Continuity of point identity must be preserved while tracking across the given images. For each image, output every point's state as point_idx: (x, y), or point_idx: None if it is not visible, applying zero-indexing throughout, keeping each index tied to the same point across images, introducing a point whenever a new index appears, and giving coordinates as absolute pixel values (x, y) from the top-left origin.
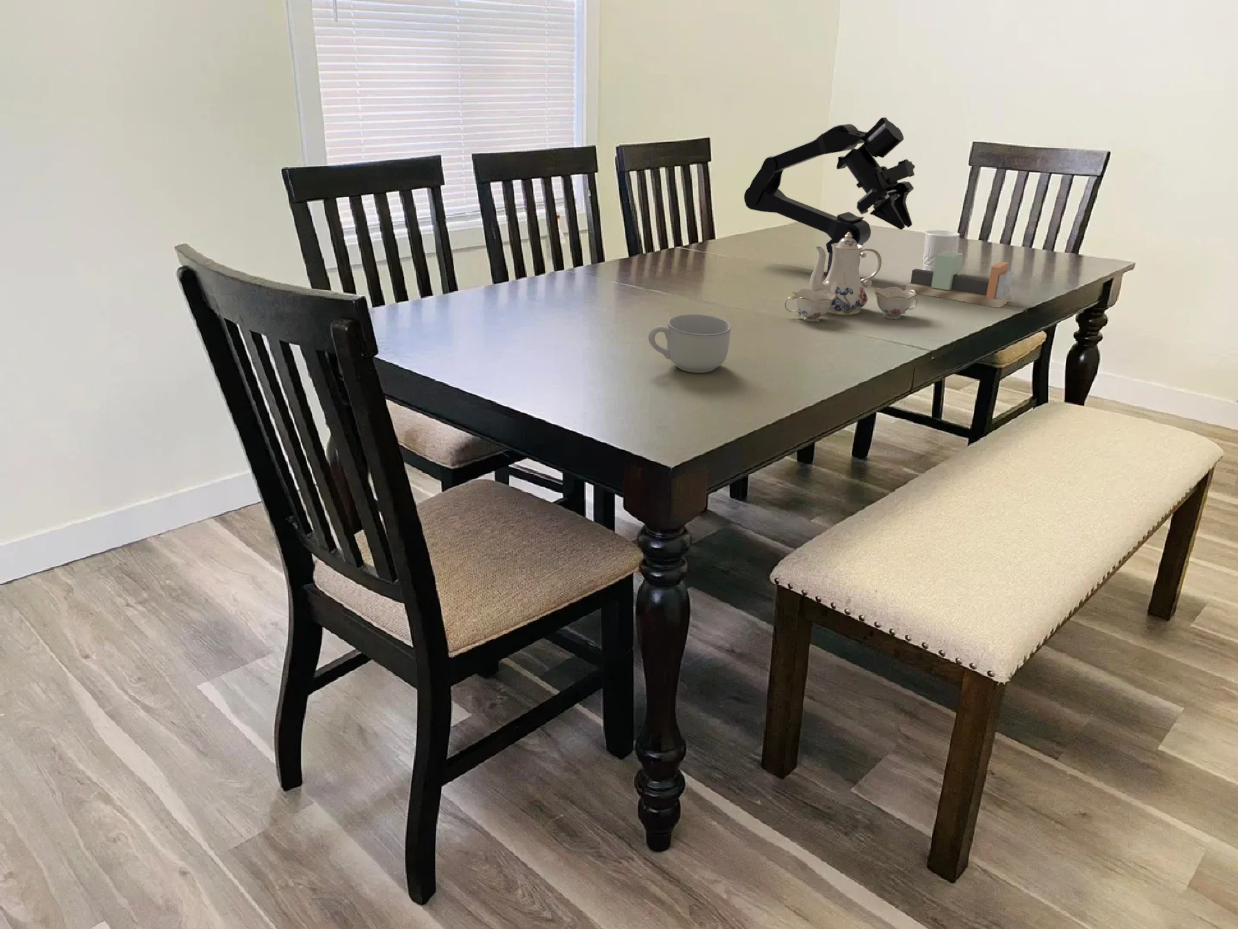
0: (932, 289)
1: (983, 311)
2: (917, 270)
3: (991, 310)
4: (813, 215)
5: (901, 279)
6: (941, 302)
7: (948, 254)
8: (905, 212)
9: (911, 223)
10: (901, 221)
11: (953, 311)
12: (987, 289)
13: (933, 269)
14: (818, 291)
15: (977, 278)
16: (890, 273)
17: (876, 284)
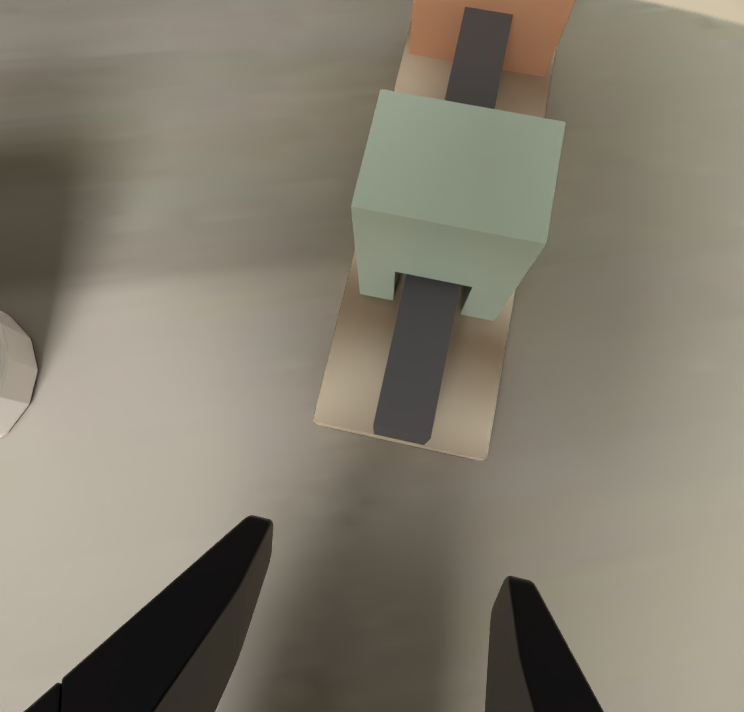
0: (510, 313)
1: (654, 92)
2: (423, 406)
3: (616, 68)
4: None
5: (181, 536)
6: (601, 263)
7: (477, 170)
8: (165, 705)
9: (263, 525)
10: (568, 656)
11: (737, 195)
12: (556, 45)
13: (10, 381)
14: None
15: (455, 81)
16: (40, 632)
17: (383, 652)
